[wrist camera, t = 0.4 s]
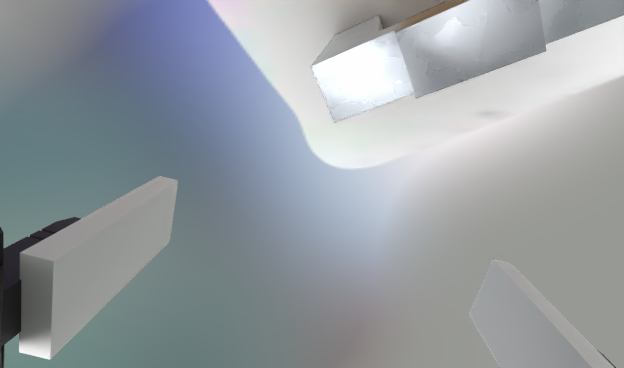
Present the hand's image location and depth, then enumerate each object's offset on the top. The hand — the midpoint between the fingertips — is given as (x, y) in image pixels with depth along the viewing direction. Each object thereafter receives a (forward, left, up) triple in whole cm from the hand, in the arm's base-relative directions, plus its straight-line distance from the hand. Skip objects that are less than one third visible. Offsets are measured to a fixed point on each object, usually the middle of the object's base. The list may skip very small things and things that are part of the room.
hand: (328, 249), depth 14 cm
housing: (-8, -3, -26) cm, 28 cm away
